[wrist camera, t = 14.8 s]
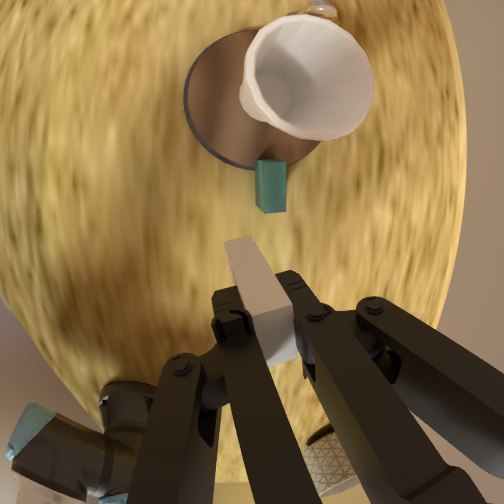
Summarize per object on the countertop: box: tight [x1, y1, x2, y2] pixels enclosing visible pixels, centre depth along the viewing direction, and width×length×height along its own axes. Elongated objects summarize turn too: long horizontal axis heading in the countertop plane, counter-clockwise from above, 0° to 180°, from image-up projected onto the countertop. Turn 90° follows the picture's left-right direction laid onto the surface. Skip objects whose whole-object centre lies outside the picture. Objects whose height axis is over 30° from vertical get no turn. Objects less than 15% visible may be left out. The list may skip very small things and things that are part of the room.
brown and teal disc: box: [188, 30, 321, 214], centre depth 27 cm, size 17×22×4 cm
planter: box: [302, 431, 361, 498], centre depth 59 cm, size 19×19×18 cm
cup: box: [239, 14, 374, 142], centre depth 21 cm, size 10×10×13 cm
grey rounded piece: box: [286, 0, 338, 21], centre depth 22 cm, size 4×4×9 cm
